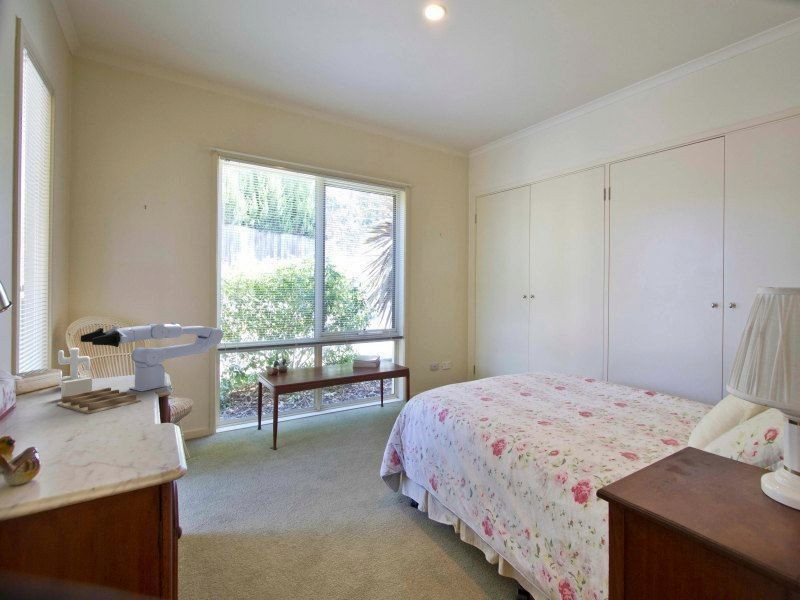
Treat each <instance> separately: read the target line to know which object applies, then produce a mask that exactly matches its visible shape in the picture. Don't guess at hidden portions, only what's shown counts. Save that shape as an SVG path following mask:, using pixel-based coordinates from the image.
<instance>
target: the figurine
mask: <svg viewBox="0 0 800 600" xmlns="http://www.w3.org/2000/svg"><path fill="white" fill-rule="evenodd" d="M69 354H70V355H69V356H65V352H64V350H63V349H62V350H61V349H60V350H58V351H57V362H58V365H61V366H64V365H66V366H67V365H69V368H70V369H69V375H65V376H61V380H60V381H61V382H63V381H69V380H75V379H81V378H87V374H79V365H81V364H84V370H86V371H89V370H90V369H91V357H90V356H88V355H83V356H82V355H81V356H79V354H80V348H79V347H71V348H69Z"/></svg>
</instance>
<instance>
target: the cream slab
mask: <svg viewBox="0 0 800 600" xmlns="http://www.w3.org/2000/svg"><path fill="white" fill-rule="evenodd" d="M60 383H61V384H60V386H61V388H60V389H61V390H60V392H61V393H60V399H61V400H62V398H63V396H68V395H73V394H79V393H84V392H89V391H93V378H92V377H90V376H88V377H87V376H86V378H81V379H75V380H69V381H63V382H62V381H61V382H60Z"/></svg>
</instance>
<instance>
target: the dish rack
mask: <svg viewBox="0 0 800 600" xmlns="http://www.w3.org/2000/svg"><path fill="white" fill-rule="evenodd" d="M61 400H62V401H58V402H57V403H56V405H57V406H61V407H64V408H66V409H69V410H73V411H76V412H79V413H82V414H87V415H90V414H94V413H97V412H103V411H106V410H110V409H114V408H120V407H123V406H128V405H132V404H134V403H140V402H142V399H140V398H137V393H131V394H129V391H123V392H120V389H113V390H112V387H106V388H101V389H95V390H92V391H89V392H84V393H79V394H73V395H68V396H63V398H62V399H61Z"/></svg>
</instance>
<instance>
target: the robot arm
mask: <svg viewBox="0 0 800 600" xmlns="http://www.w3.org/2000/svg"><path fill="white" fill-rule="evenodd" d="M182 335H195V336H196V338H195V340H194V342H190V343H184V344H177V345H170V346H163V347H148V348H147V347H144V346H138V347H136V348H135V349H133V350H132V353H131V360H132V361H133V362H134V385H133V386H129V390H133V391H134V390H135V391H137V392H144V391H149V390H154V389H155V390H156V389H160V388H163V387H166V386H167V385H166V384H165V372H166V371H165V370H166V369H165V367H164V365H163V364H162V363H161V362H164V361H165V360H168V359H175V358H180V357H181V358H182V357H187V356H193V355H198V354H204V353H206V352H208V351H209V350H210V349H211V348H213V347H214V346H215V345H219V344H220V343H221V342H222V340H223V337H224V332H223V330H222V329H221V328H219V327H216V328H215V327H210V326H204V325H203V326H202V325H188V326H182V325H181V324H179V323H177V322H171V323H164V322H160V323H159V324H156V323H146V324H145V325H136V326H135V325H134V326H128V327H127V326H125V327H119V326H118V325H112V328H111V329H108V330H105V331H104V328H103V327H100V328H97V329H95V330H94V331H92V332H88V333H84V334H82V335H80V342H81V343H91V344H92V346H110V347H112V346H113V347H115V348H118V347H120V345H121V344H129V343H134V342H140V341H145V340H146V341H147V340H152V339H154V340H162V339H175V338H176V339H177V338H180V337H181V336H182Z"/></svg>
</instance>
